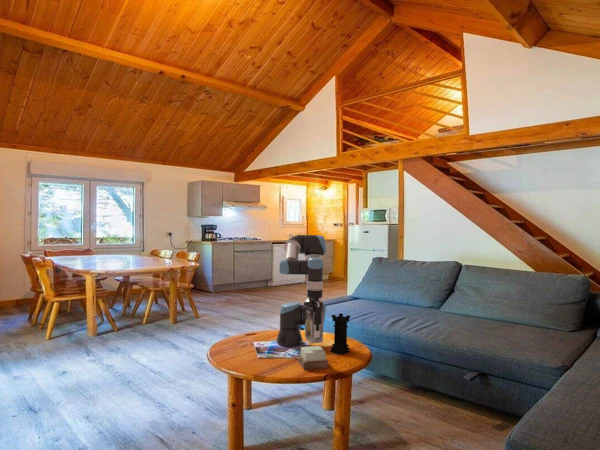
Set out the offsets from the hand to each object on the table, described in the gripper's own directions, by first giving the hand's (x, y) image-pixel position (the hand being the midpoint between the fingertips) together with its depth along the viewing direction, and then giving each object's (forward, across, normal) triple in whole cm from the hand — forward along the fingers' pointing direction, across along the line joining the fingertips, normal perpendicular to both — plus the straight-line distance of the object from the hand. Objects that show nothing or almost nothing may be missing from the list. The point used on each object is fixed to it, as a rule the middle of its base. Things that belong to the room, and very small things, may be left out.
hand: (314, 334), depth 203 cm
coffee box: (+3, 0, 0) cm, 3 cm away
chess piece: (+15, -17, +20) cm, 31 cm away
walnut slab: (+16, 0, 0) cm, 16 cm away
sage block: (+12, -1, 0) cm, 12 cm away
